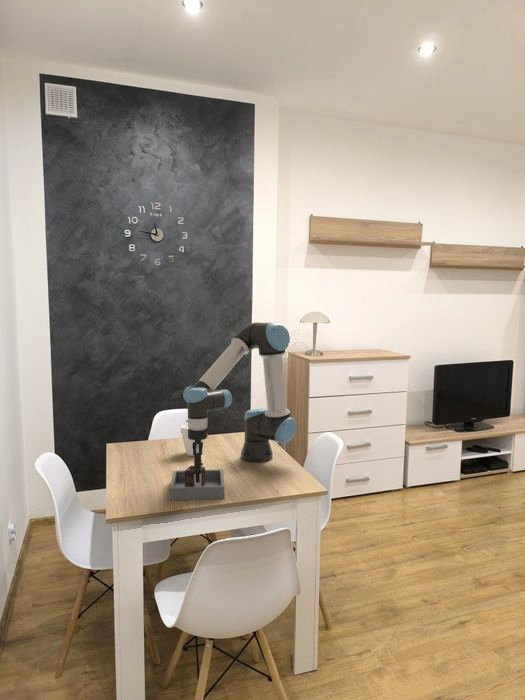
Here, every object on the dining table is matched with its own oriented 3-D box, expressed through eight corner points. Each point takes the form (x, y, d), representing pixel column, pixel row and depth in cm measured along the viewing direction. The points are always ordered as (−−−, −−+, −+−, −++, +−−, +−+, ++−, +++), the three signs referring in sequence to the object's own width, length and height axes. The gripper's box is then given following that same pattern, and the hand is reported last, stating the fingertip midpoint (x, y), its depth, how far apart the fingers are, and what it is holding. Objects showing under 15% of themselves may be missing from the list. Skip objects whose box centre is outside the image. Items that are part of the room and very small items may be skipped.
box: (205, 485, 194) (205, 466, 193) (199, 490, 188) (199, 471, 188) (190, 483, 196) (191, 465, 195) (184, 488, 190) (184, 469, 189)
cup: (211, 452, 242) (211, 425, 241) (195, 458, 232) (195, 430, 230) (192, 448, 248) (192, 422, 247) (175, 454, 238) (175, 426, 237)
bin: (222, 480, 203) (222, 469, 202) (224, 498, 183) (224, 486, 183) (173, 481, 201) (173, 470, 200) (169, 500, 181) (169, 488, 180)
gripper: (188, 422, 199) (189, 477, 201) (186, 435, 179) (187, 496, 181) (207, 422, 200) (207, 477, 202) (207, 434, 180) (207, 495, 182)
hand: (198, 485), depth 192 cm, fingers closed on box, 7 cm apart
